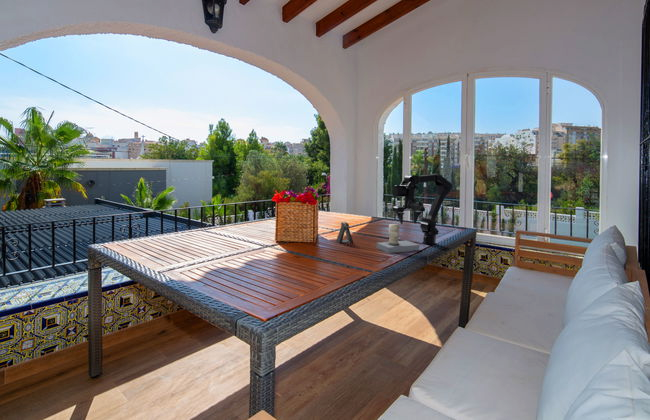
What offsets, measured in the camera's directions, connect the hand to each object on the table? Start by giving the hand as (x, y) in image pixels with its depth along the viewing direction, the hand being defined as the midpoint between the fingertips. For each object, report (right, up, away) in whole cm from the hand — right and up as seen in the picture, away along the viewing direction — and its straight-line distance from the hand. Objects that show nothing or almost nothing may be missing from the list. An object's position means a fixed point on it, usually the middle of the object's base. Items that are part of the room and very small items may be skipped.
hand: (408, 223), depth 204 cm
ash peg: (-10, -14, -8) cm, 19 cm away
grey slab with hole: (-7, -14, -7) cm, 17 cm away
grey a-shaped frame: (-36, -12, +10) cm, 40 cm away
